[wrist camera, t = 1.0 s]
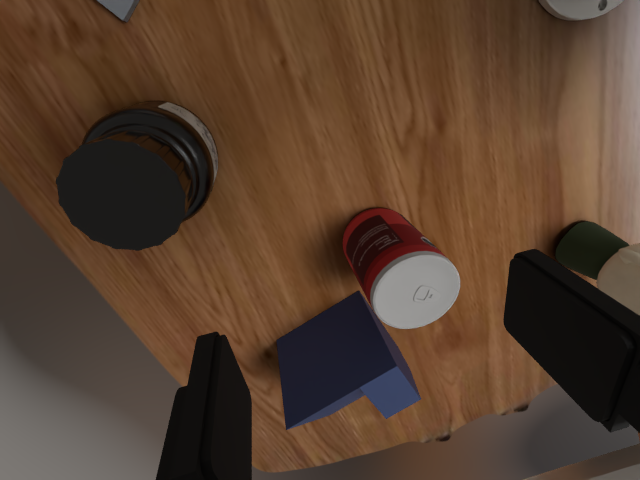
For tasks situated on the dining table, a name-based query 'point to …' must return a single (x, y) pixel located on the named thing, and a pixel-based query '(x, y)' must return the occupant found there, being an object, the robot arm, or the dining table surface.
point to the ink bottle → (139, 175)
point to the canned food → (399, 269)
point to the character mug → (603, 261)
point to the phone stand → (342, 364)
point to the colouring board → (120, 7)
